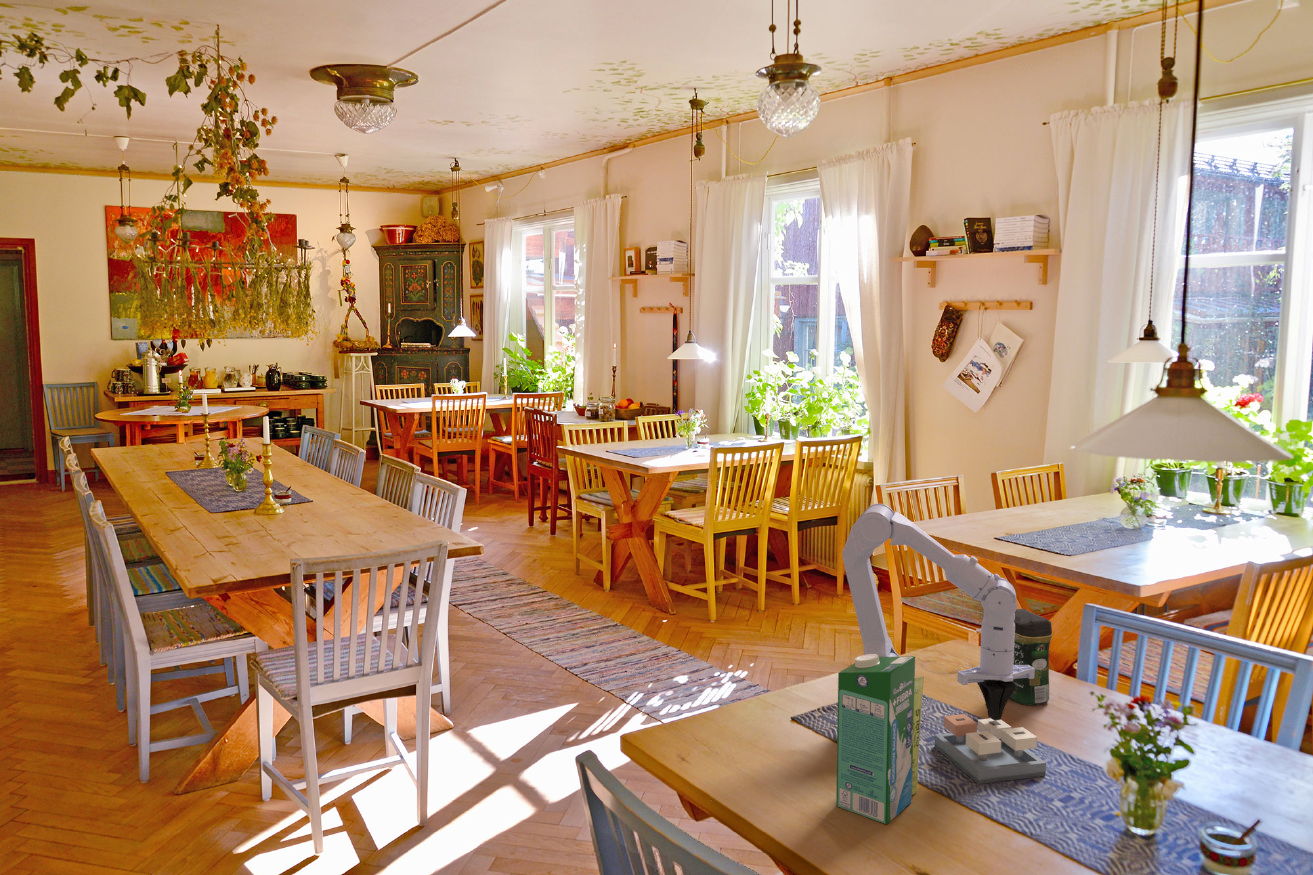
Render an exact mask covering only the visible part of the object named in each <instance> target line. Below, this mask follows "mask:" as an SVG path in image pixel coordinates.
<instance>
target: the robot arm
mask: <svg viewBox="0 0 1313 875" xmlns="http://www.w3.org/2000/svg"><path fill="white" fill-rule="evenodd" d="M889 539H891V541H890V543H889V545H890V546H904V545H905V546H908V547H910V548H911V549H913V550H914V551H916V552H917V553H919V554H920V555H922V556H923V557H925V558H926V559H928V560H929V561H931V562H932V563H934V564H935V565H937V566H938V567H940V568H941V569H943V572H944V576H945V580H947V581H948V582H949V583H951V584H952V585H954V586H955V587H956V588H958V589H960V590H961V591H962V592H963V593H965V594H966V595H968V596H969V597H970V598H972V599H973V600H975V601H978V602H980V603H981V607H982V609H983V617H982V620H981V627H980V628H981V629H980V630H981V632H980V654H979V666H975V667H972V668H968V669H965V670H958V671H957V678H956V679H957V682H958V683H959V684H961V685H962V686H968V685H969V684H975V683H977V685H978V687H979V689H980V692H981V694H982V696H983V700H984V703H985V706H986V711H987V712H986V713H987V716H988V718H989V719H990V718H991V719H993V720H994V721H995V720H1002V716H1003V713H1004V711H1005V707H1006V705H1007V703H1008V701H1009V699H1010V698H1009V697H1010V696H1011V694H1012V693H1013V692H1014V691H1015V688H1016V684H1015V683H1013V682H1012V681H1013V679H1018V678H1029V679H1034V673H1035V669H1034V668H1033V667H1031V666H1029V665H1013V663H1014V640H1015V623H1014V620H1015V613H1014V612H1015V611H1016V609H1018V603H1017V593H1016V590H1015V586H1014V585H1013V584H1012V583H1011V582H1009V580H1008V579H1006V578H1003V577H1001V576H1000V575H999V574H998V573H994V574H993V573H992V572H990V571H989V570H988V569H986V568H985V567H983V566H982V565H981V564H979V563H978V562H979V560H978V558H977V557H975V556H974V555H971V556H970V557H969V555H967V554H965V553H964V554H953V552H951V551H950V550H948V549H947V548H946V547H945V546H944V545H942V544H941V543H939V542H938V541H937V540H936V539H935V538H933V537H932V536H931V535H929V534H928V533H927V532H925V531H924V530H923V529H921V528H920V527H919V526H918V525H916V523H914V522H912V520H910V519H909V518H907V517H906V516H904V515H903V514H901V513H899V511H894V510H893V509H892V508H891V507H890V506H888V505H887V504H885V503H874V504H871V505H869V506H868V507H867V508H866V509H865V510H864V511H863V512H862V513H861V515H860V516H858V518H857V520H856V521H855V523H854V524H853V525H852V526H851V528H850V532H849V534H848V536H847V540H846V541H845V542H846V543H845V545H844V547H843V550H842V552H841V554H842V555H841V557H842V560H843V565H844V571H845V575H846V579H847V583H848V587H849V590H850V595H851V600H852V603H853V607H854V612H855V615H856V620H857V623H858V624H857V625H858V628H859V631H860V636H861V640H862V646H863V647H862V648H863V654H862V655H866V654H867V655H868V654H877V655H878V657H901V656H900V654H898V652H896V650H895V647H894V645H893V641H892V640H891V638H890V636H889V635H888V630H887V625H886V621H885V618H884V613H883V609H882V604H881V601H880V597H879V591H878V588H877V584H876V580H875V575H874V572H873V568H872V563H871V559H870V557H871V556H872V554H873V553H874V552H875V550H876V549H877V548H878V547H881V546H882V545H883V544H885V543H886V542H887V541H888V540H889Z"/></svg>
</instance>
